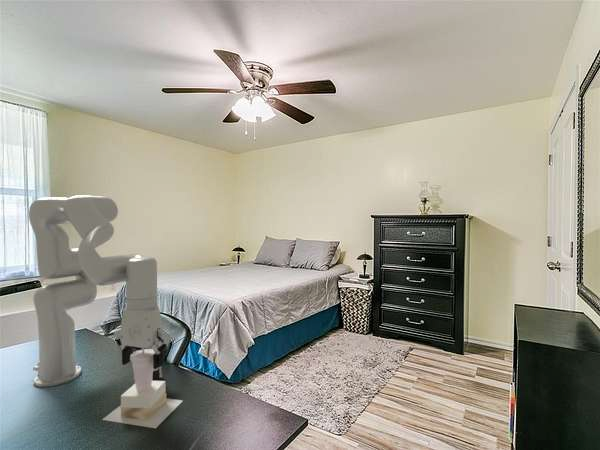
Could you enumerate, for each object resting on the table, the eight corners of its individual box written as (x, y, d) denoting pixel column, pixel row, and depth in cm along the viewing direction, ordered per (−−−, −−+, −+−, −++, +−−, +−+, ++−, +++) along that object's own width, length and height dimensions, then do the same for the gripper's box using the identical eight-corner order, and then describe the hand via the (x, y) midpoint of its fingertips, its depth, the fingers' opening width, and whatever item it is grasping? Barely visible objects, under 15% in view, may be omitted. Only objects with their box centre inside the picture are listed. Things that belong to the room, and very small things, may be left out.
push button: (148, 397, 93) (147, 364, 93) (138, 392, 96) (137, 359, 95) (168, 387, 98) (167, 356, 98) (158, 382, 101) (157, 351, 101)
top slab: (121, 407, 83) (120, 396, 82) (138, 390, 90) (138, 380, 90) (150, 408, 82) (150, 397, 82) (165, 391, 90) (165, 381, 90)
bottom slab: (120, 416, 83) (120, 405, 83) (142, 399, 91) (141, 389, 91) (147, 420, 82) (146, 409, 81) (166, 402, 89) (166, 392, 89)
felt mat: (102, 421, 82) (101, 419, 82) (135, 395, 94) (135, 394, 94) (155, 430, 79) (155, 428, 79) (183, 402, 90) (183, 400, 90)
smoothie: (130, 397, 82) (129, 344, 81) (130, 385, 88) (129, 335, 87) (157, 390, 85) (156, 339, 84) (155, 379, 91) (155, 331, 90)
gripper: (104, 304, 84) (104, 367, 84) (161, 309, 80) (161, 375, 81) (125, 297, 91) (125, 355, 92) (178, 301, 87) (178, 361, 88)
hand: (142, 364), depth 86 cm, fingers open, 9 cm apart
